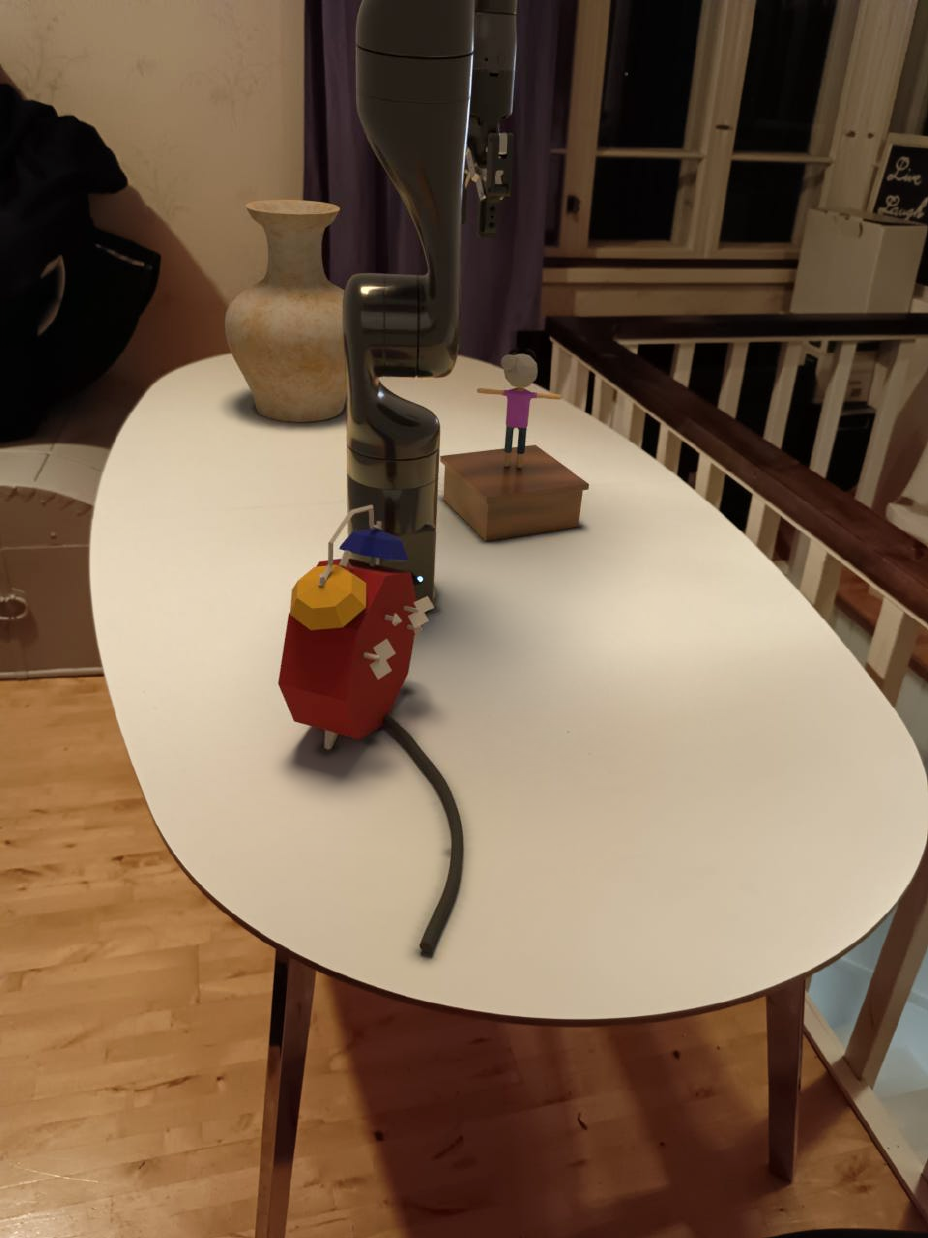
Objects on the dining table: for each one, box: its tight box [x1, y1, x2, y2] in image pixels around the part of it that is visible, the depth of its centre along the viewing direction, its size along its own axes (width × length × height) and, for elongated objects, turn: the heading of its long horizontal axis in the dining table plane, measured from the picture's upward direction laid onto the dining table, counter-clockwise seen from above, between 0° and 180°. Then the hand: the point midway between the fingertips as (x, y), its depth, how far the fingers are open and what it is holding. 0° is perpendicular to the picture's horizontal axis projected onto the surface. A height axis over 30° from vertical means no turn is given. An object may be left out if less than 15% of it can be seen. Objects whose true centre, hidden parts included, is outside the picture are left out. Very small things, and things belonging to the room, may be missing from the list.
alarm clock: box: [277, 505, 435, 750], centre depth 79 cm, size 15×9×20 cm, turn 160°
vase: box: [224, 199, 347, 423], centre depth 146 cm, size 22×22×30 cm
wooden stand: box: [439, 444, 590, 542], centre depth 122 cm, size 14×14×6 cm
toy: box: [476, 347, 563, 468], centre depth 116 cm, size 10×6×15 cm, turn 84°
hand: (470, 230), depth 108 cm, fingers open, 8 cm apart
